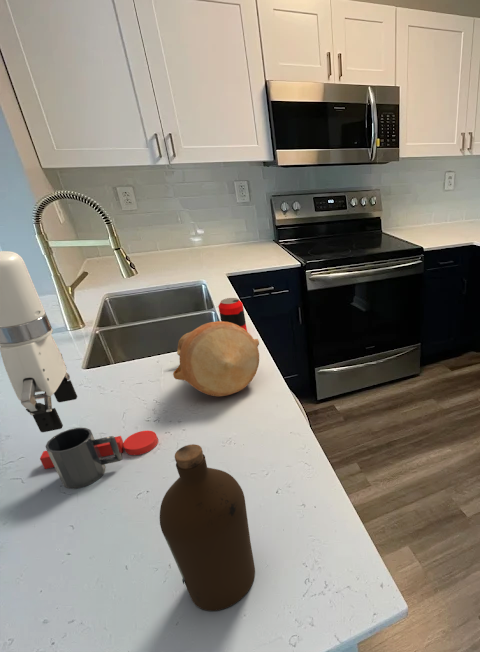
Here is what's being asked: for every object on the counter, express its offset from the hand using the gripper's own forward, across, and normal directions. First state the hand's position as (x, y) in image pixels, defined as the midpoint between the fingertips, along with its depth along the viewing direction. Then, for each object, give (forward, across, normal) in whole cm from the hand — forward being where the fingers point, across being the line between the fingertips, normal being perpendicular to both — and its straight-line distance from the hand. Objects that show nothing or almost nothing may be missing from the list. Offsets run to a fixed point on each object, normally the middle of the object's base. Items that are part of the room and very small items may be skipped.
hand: (60, 414), depth 76 cm
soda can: (+15, -59, +32) cm, 68 cm away
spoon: (+15, -6, +2) cm, 16 cm away
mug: (+15, 0, +1) cm, 15 cm away
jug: (+15, -30, +26) cm, 42 cm away
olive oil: (+15, +33, +24) cm, 44 cm away
